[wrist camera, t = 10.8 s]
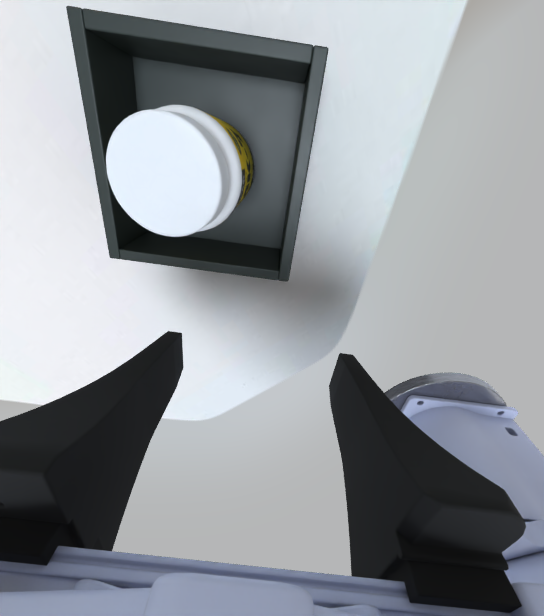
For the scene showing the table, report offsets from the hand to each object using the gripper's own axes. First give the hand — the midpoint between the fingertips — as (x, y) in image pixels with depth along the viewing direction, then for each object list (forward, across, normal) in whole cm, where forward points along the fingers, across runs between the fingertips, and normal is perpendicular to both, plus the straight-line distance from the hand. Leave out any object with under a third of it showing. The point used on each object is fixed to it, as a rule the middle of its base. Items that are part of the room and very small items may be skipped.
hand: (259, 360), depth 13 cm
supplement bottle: (+9, +4, -7) cm, 12 cm away
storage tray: (+9, +4, -7) cm, 12 cm away
